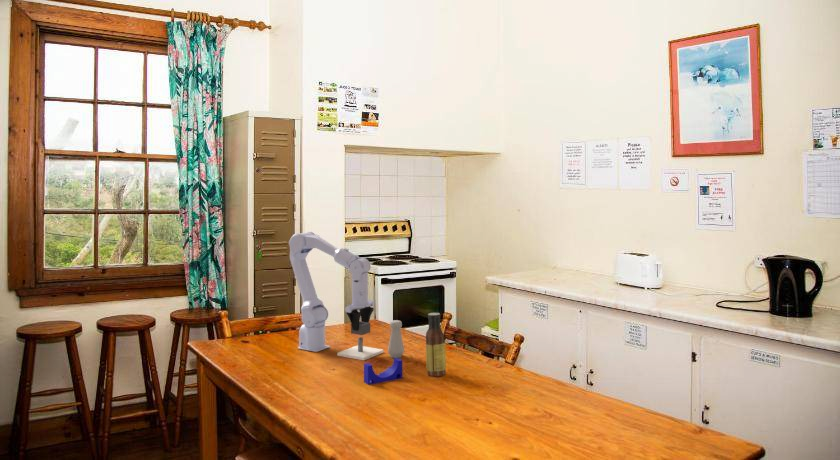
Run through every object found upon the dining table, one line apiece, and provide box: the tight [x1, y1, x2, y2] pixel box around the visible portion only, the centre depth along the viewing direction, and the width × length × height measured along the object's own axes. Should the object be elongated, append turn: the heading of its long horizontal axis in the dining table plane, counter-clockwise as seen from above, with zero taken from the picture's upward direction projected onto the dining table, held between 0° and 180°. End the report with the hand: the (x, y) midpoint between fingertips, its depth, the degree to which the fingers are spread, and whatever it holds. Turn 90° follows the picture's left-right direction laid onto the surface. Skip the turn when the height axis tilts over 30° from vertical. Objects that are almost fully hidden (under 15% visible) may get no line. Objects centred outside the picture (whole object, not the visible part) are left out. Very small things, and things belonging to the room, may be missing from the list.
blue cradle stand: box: [363, 358, 403, 386], centre depth 180 cm, size 12×4×6 cm, turn 120°
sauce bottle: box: [425, 312, 447, 377], centre depth 184 cm, size 7×6×20 cm
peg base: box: [336, 336, 384, 361], centre depth 208 cm, size 12×12×6 cm
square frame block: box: [350, 320, 371, 336], centre depth 207 cm, size 5×5×4 cm
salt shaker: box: [387, 319, 405, 359], centre depth 204 cm, size 6×6×13 cm
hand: (360, 328), depth 208 cm, fingers closed on square frame block, 5 cm apart
